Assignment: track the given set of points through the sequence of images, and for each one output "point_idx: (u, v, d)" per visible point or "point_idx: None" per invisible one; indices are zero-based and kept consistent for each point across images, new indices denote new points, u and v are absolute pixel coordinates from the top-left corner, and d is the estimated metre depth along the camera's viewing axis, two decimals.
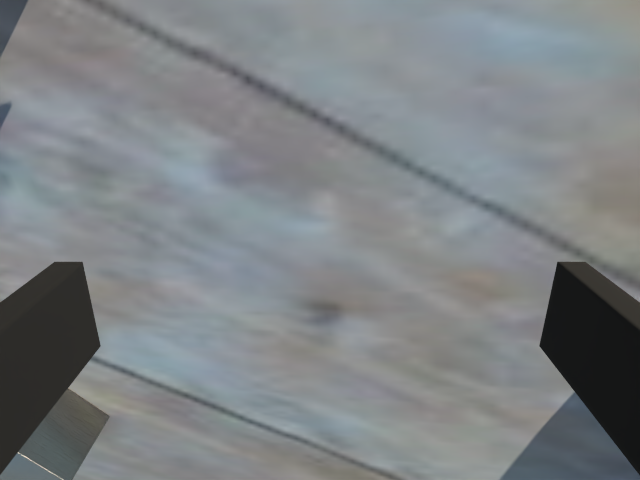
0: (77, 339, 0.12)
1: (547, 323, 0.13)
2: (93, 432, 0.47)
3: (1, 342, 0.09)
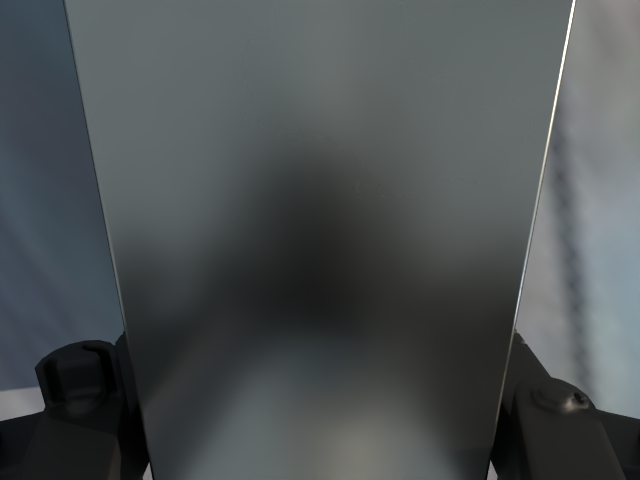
0: None
1: None
2: None
3: None
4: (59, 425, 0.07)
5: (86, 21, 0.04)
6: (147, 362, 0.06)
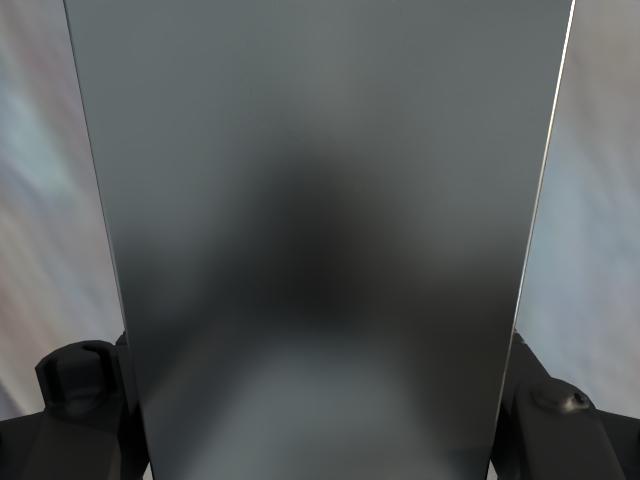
0: None
1: None
2: None
3: None
4: (59, 425, 0.07)
5: (86, 19, 0.04)
6: (147, 360, 0.06)
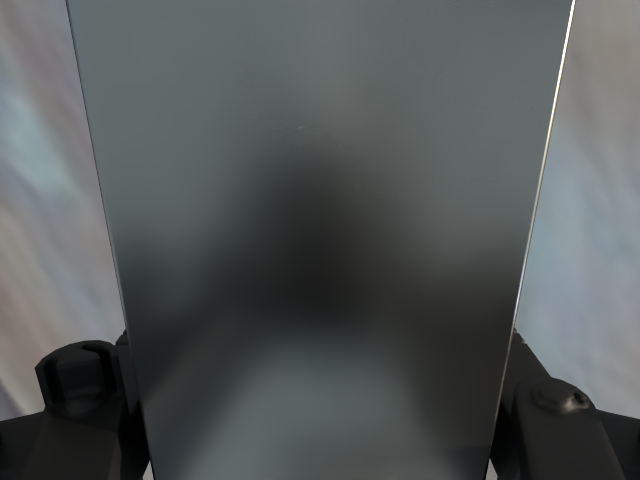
0: None
1: None
2: None
3: None
4: (59, 425, 0.07)
5: (88, 18, 0.04)
6: (148, 358, 0.06)
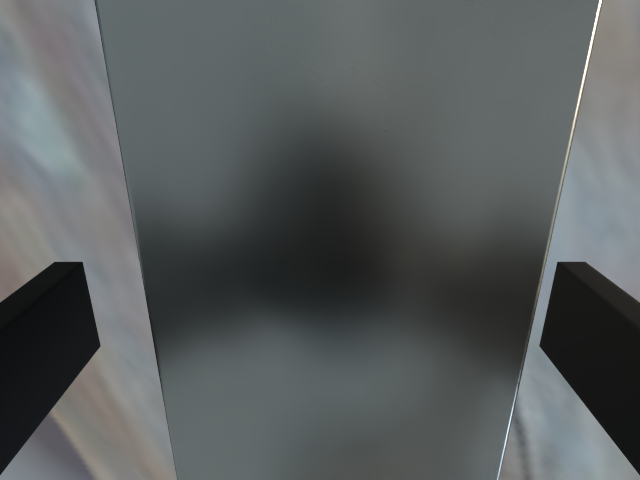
0: (77, 339, 0.12)
1: (547, 323, 0.13)
2: None
3: (1, 342, 0.09)
4: None
5: None
6: (165, 309, 0.06)
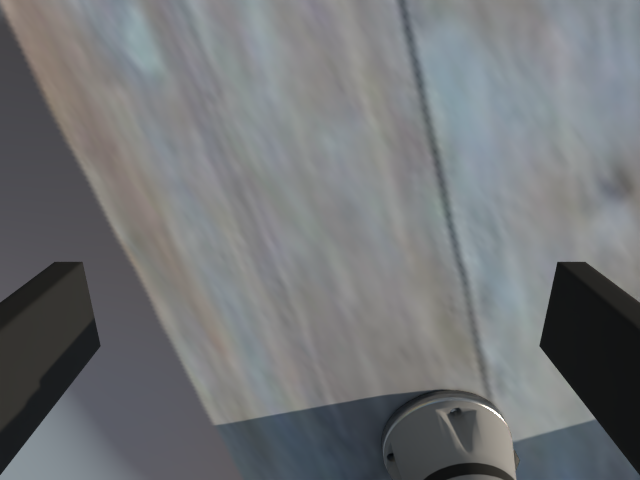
0: (77, 339, 0.12)
1: (547, 323, 0.13)
2: None
3: (1, 342, 0.09)
4: None
5: None
6: None
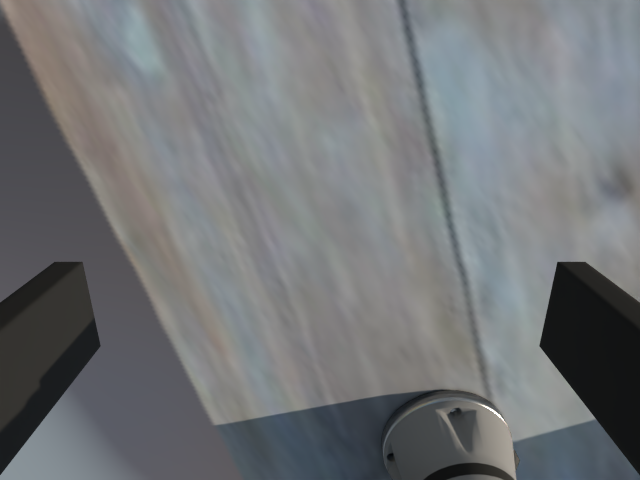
0: (77, 339, 0.12)
1: (547, 323, 0.13)
2: None
3: (1, 342, 0.09)
4: None
5: None
6: None
